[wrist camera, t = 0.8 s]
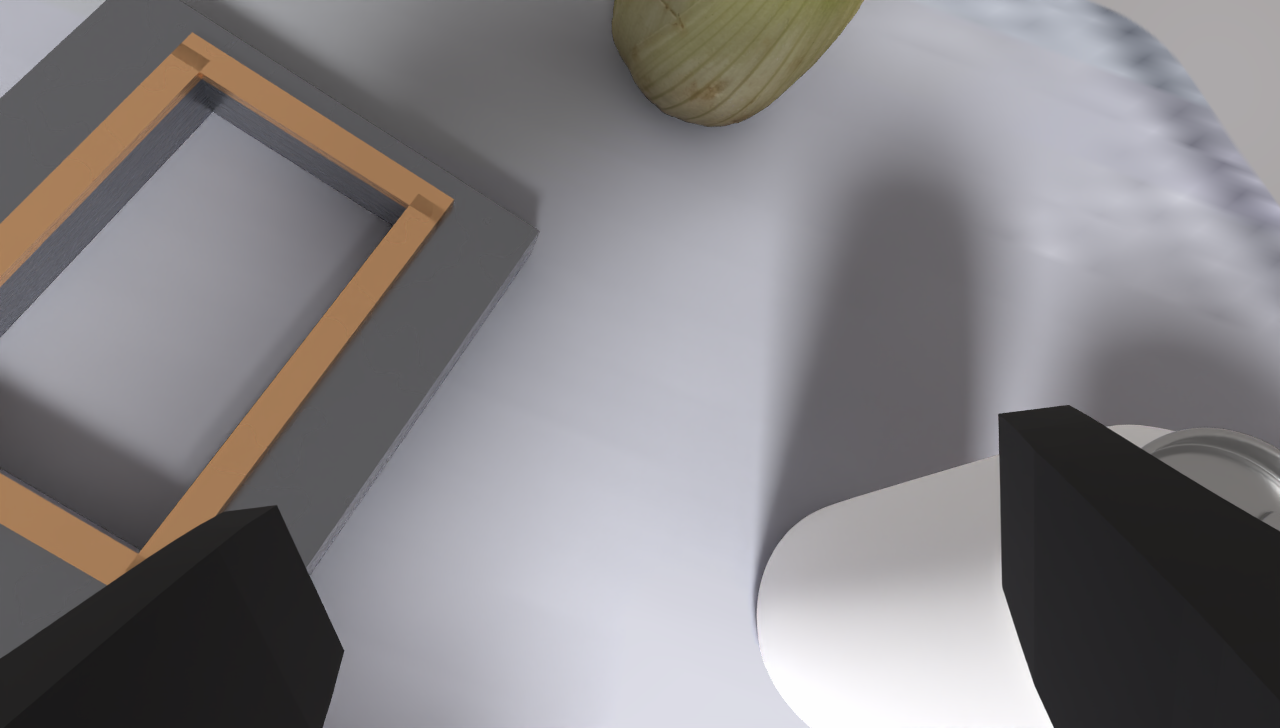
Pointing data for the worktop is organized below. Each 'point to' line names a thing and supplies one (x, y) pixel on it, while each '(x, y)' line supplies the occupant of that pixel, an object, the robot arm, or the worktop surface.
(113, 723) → the robot arm
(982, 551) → the can
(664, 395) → the worktop surface
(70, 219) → the rail plate
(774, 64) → the fennel bulb
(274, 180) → the worktop surface
